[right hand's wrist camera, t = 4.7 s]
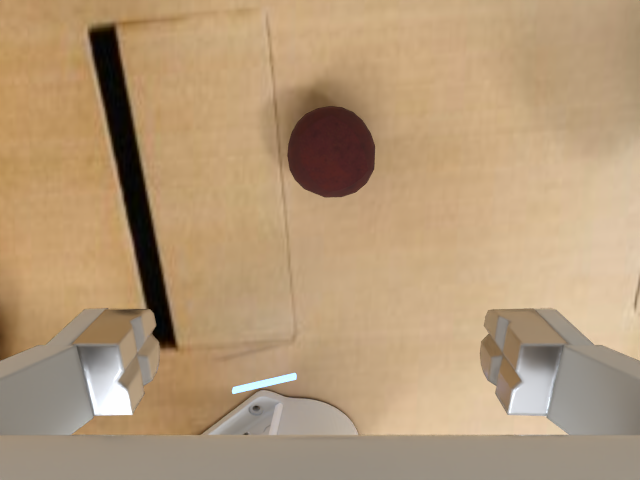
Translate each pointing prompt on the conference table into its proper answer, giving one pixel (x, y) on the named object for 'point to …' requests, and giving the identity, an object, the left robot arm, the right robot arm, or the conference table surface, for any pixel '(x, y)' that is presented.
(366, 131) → the dark red ball
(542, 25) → the conference table surface
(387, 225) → the conference table surface
